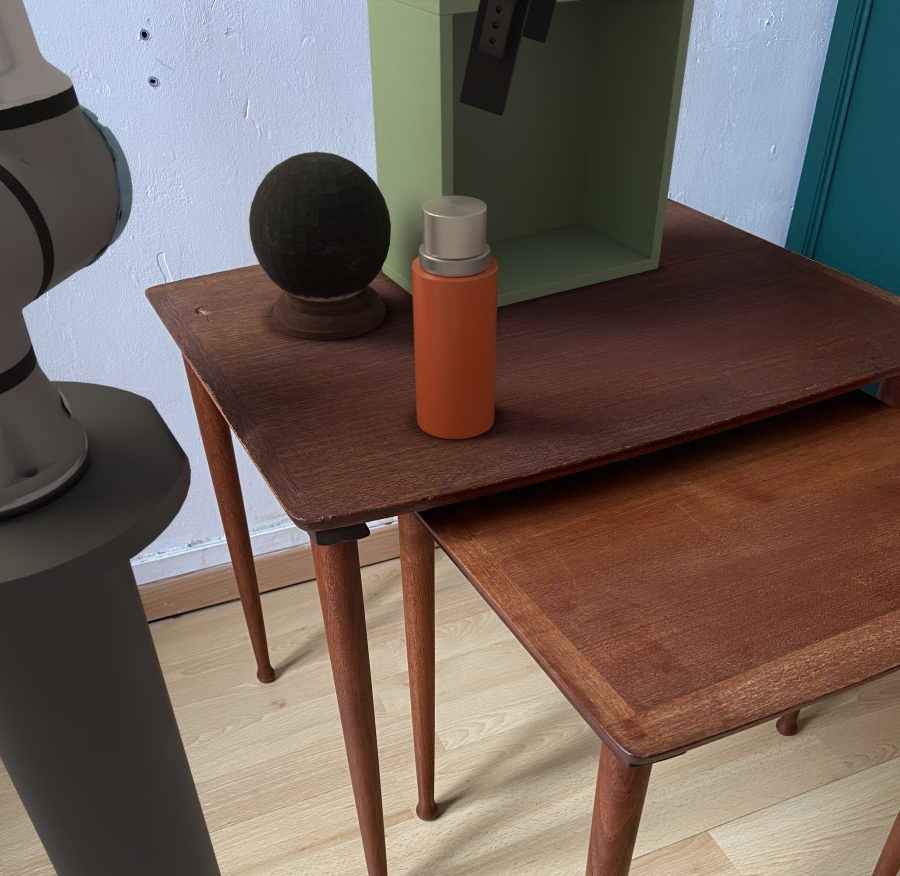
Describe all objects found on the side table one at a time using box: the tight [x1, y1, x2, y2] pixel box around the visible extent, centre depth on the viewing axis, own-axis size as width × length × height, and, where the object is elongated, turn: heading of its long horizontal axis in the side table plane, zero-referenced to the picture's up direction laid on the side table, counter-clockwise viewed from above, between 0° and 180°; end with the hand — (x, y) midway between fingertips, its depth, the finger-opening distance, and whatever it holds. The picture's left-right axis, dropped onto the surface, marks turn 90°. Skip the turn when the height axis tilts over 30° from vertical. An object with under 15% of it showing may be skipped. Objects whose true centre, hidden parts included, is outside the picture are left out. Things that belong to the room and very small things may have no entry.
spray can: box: [412, 196, 498, 440], centre depth 73 cm, size 6×6×17 cm
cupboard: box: [366, 0, 695, 308], centre depth 94 cm, size 14×26×27 cm, turn 119°
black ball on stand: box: [248, 151, 391, 341], centre depth 90 cm, size 13×13×15 cm
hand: (506, 69), depth 62 cm, fingers open, 13 cm apart
